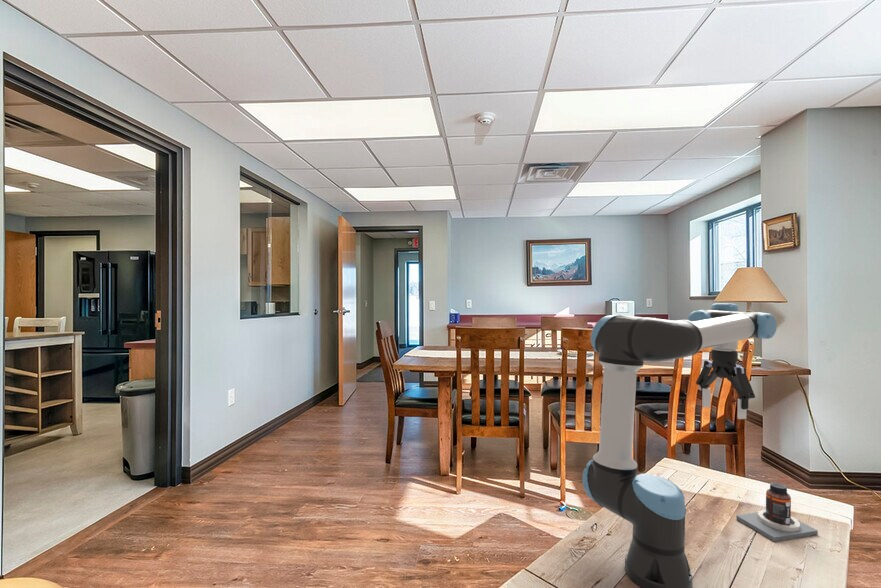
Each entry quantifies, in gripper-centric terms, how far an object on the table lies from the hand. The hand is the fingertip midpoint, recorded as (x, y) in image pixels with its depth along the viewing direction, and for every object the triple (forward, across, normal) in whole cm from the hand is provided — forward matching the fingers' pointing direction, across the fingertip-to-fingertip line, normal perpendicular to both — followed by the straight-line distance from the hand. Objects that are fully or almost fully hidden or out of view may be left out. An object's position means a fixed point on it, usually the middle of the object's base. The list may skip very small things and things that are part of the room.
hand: (723, 412), depth 142 cm
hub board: (+31, -15, -4) cm, 34 cm away
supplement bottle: (+30, -15, -5) cm, 34 cm away
